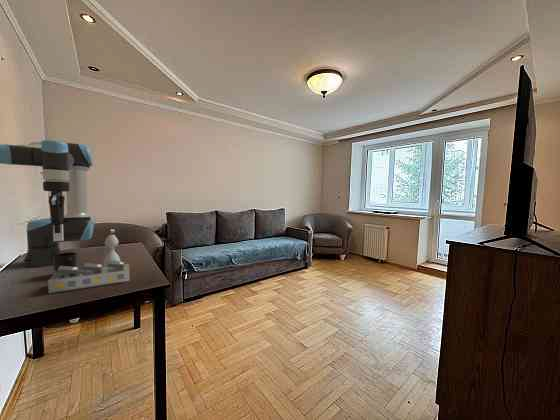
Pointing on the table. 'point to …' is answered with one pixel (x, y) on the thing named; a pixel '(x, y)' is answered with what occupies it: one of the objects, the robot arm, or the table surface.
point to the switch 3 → (115, 264)
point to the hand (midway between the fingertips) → (58, 240)
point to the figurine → (111, 249)
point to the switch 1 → (67, 270)
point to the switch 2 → (92, 267)
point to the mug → (64, 260)
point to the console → (88, 279)
